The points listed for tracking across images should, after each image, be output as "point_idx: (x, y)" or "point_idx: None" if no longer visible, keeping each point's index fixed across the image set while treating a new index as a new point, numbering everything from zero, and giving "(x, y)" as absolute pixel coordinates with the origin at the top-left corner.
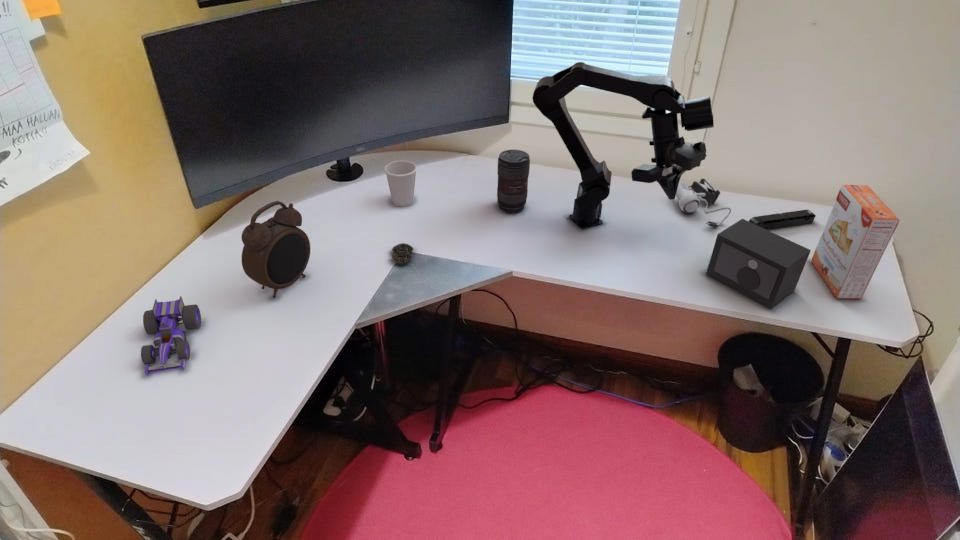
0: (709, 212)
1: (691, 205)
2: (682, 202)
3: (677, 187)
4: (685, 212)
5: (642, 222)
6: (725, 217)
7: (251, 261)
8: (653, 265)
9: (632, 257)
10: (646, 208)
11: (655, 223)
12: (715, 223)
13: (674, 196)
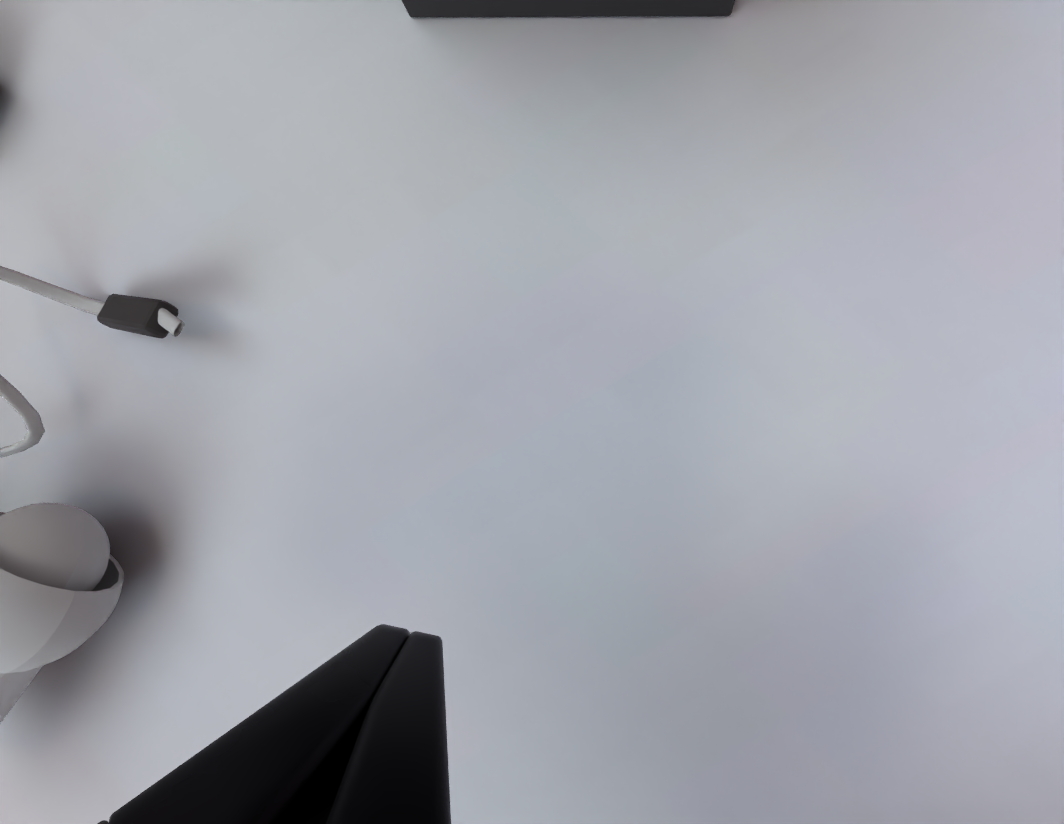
0: (23, 402)
1: (52, 543)
2: (64, 625)
3: (193, 763)
4: (118, 562)
5: (458, 738)
6: (2, 276)
7: None
8: (930, 356)
9: (960, 537)
10: None
11: None
12: (109, 308)
13: (379, 650)
